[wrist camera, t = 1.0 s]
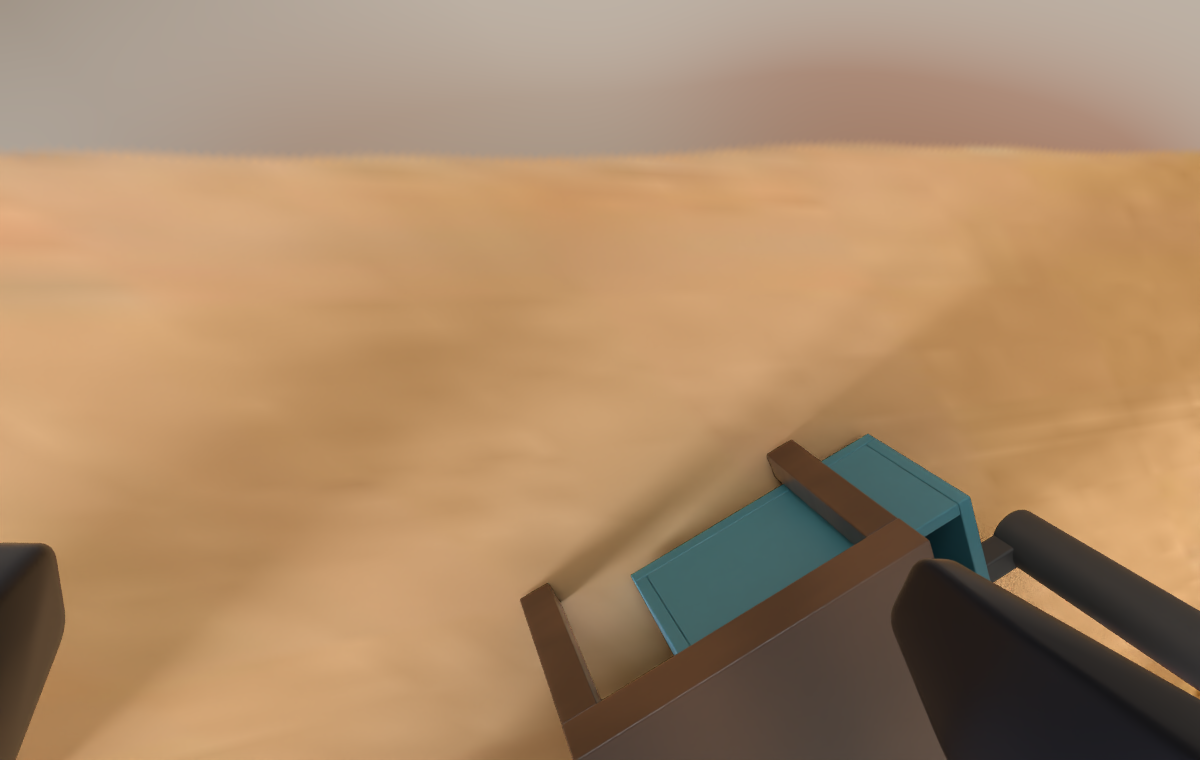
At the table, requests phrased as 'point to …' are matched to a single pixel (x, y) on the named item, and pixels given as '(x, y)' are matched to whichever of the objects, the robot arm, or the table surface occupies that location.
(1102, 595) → the drawer
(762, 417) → the table surface
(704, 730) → the brown drawer cabinet
